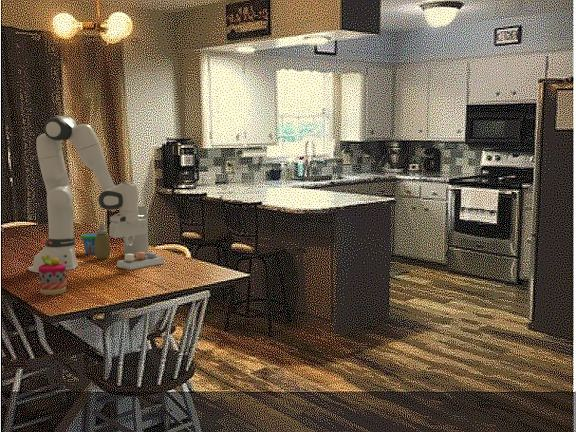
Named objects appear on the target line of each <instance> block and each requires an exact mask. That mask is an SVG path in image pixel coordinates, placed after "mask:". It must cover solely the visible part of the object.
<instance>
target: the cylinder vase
mask: <svg viewBox="0 0 576 432" xmlns="http://www.w3.org/2000/svg"><path fill="white" fill-rule="evenodd" d="M138 210H139V216H142V215H144V216H146V217H147V225H149V224H148V223H149V220H148V219H149V218H148V206H141V205H140V206H139V205H138ZM141 218H142V217H141ZM130 239H131V238H130V236H129V238H128V241H130ZM136 252H145V256H147V253H149V232H148V233H147V234H142V235H135V239H134V241H133V245H129V246H127V245H126V242H125V240H124V239H123V254H124V255H125V254H134V257H136Z"/></svg>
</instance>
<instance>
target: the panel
mask: <svg viewBox="0 0 576 432" xmlns="http://www.w3.org/2000/svg"><path fill="white" fill-rule="evenodd" d="M164 262H165V261H164V257H162V256H157V255H156V258H152V259H149V258H147V255H145V259H142V260H138V259H136V257H134V261H131V262H127V261H125V259H120V260H117V261H116V267H117V268H120V269H124V270H128V271H131V270H133V271H134V270H137V269H142V268H147V267H153V266H158V265H163V264H164Z"/></svg>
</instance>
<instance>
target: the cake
mask: <svg viewBox="0 0 576 432" xmlns="http://www.w3.org/2000/svg"><path fill="white" fill-rule="evenodd" d="M42 259H43V262H44V263H45V264H44V265H41V266H40V267H39V273H38V275H39V279H38V280H39V282H40V283H39V284H38V287H39V293H41V294H44V295H43V296H46V295H52V296H57V295H56V294H60V295H63V294H62V293H64V292H67V285H68V281H67V280H66V278H67V277H68V276H67V275H66V273H67V270H66V266H65V265H64V264H60V263H59V259H58V258H53V259H52V260H51V261H50V256H49V255H47V256H46V258H45V256H42ZM41 294H40V295H41ZM64 294H65V293H64Z"/></svg>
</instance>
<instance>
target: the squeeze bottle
mask: <svg viewBox="0 0 576 432" xmlns="http://www.w3.org/2000/svg"><path fill="white" fill-rule="evenodd" d="M98 229H99V230H97V231H96V233H97V235H96V236H95V249H94V252H95V254H94V255H95V258H97V259H98V260H105V259H109V258H110V254H111V245H110V238H109V237H110V235H109V234H107V231H108V230H106V229H105V227H104V223H100V225H99V228H98Z"/></svg>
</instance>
